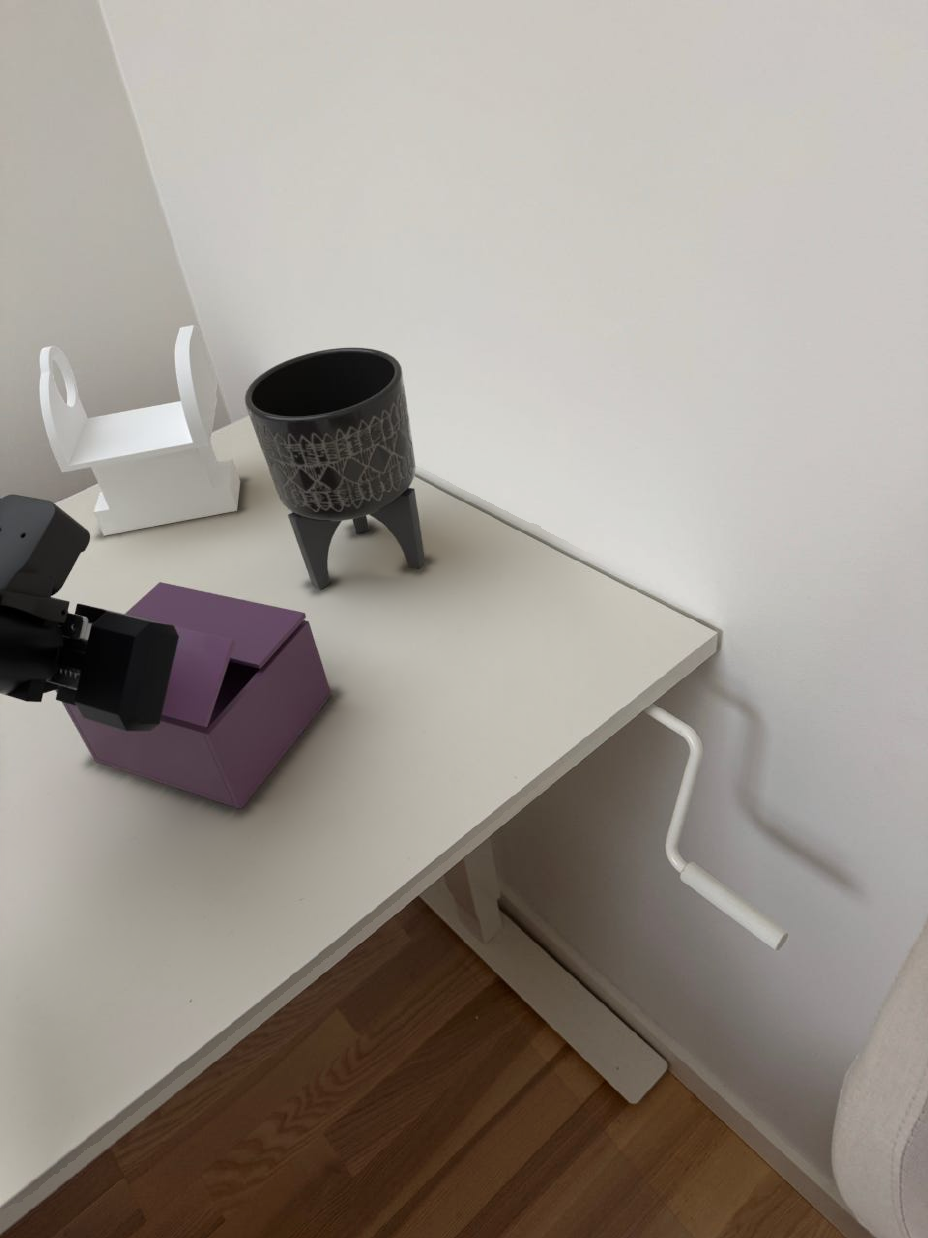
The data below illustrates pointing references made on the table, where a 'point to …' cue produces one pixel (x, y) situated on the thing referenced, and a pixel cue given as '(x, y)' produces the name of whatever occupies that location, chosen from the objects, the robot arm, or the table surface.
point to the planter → (338, 448)
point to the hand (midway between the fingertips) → (138, 657)
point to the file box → (224, 699)
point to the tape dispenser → (145, 445)
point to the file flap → (196, 675)
